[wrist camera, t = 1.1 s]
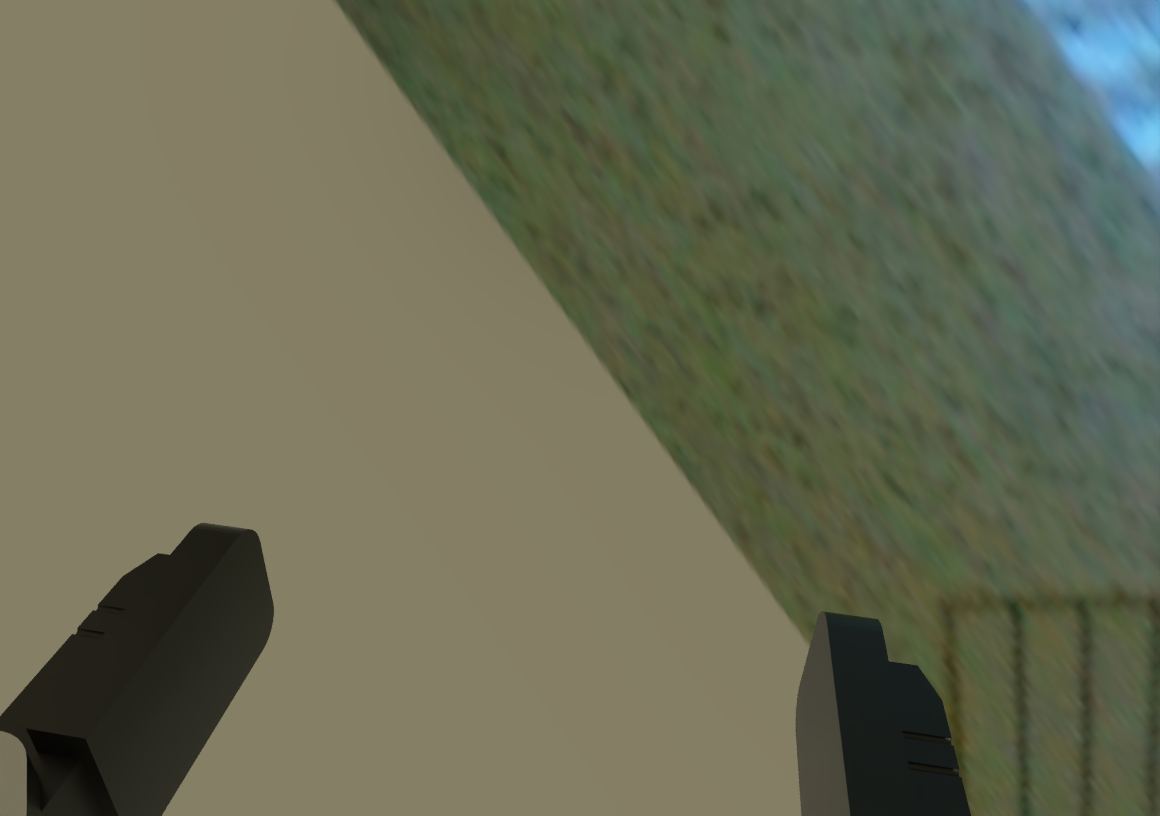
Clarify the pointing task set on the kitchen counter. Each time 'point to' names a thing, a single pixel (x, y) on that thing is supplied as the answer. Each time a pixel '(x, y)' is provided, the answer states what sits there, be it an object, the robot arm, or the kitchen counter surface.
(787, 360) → the kitchen counter surface
